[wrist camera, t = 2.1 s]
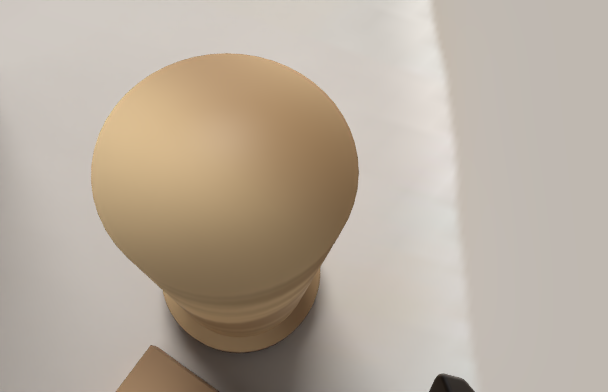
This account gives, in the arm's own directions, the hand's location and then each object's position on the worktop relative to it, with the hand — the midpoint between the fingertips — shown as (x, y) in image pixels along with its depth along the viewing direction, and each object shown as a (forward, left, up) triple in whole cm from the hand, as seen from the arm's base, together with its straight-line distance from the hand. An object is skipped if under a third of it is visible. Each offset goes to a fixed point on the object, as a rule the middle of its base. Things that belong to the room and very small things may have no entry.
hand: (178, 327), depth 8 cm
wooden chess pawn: (+3, +1, -10) cm, 11 cm away
